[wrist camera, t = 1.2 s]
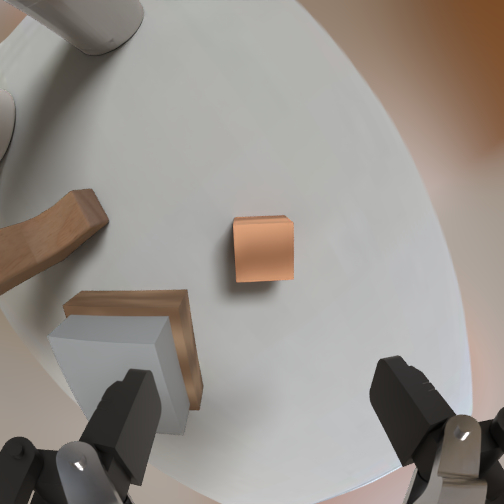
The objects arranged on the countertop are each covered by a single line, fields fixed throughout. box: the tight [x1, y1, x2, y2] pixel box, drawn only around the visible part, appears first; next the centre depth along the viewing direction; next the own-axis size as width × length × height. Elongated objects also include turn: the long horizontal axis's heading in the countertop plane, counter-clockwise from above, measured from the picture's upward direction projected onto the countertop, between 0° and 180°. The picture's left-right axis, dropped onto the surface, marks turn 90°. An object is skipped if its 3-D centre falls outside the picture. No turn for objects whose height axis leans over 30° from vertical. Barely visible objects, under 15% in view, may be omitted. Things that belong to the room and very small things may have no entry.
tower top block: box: [47, 315, 190, 435], centre depth 24 cm, size 12×12×5 cm
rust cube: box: [233, 215, 294, 282], centre depth 26 cm, size 5×5×5 cm
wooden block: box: [0, 189, 109, 295], centre depth 18 cm, size 9×4×18 cm, turn 120°
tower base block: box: [63, 290, 203, 410], centre depth 29 cm, size 14×14×5 cm
